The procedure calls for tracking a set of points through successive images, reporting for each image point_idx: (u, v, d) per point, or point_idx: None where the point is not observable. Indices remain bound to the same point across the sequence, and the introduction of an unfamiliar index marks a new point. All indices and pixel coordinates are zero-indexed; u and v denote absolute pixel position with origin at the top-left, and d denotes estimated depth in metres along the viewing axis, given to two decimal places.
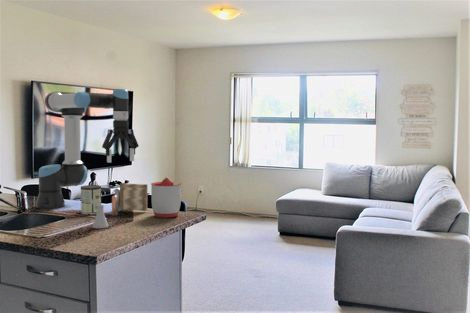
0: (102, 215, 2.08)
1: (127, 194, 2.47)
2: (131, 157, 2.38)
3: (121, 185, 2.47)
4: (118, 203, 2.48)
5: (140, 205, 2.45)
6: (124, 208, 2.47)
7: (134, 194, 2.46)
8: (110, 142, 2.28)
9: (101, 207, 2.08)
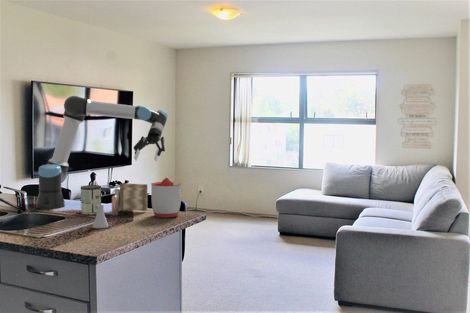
0: (102, 215, 2.08)
1: (127, 194, 2.47)
2: (136, 156, 2.62)
3: (121, 185, 2.47)
4: (118, 203, 2.48)
5: (140, 205, 2.45)
6: (124, 208, 2.47)
7: (134, 194, 2.46)
8: (159, 146, 2.65)
9: (101, 207, 2.08)
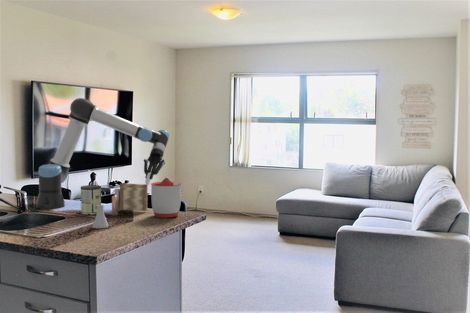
0: (102, 215, 2.08)
1: (127, 194, 2.47)
2: None
3: (121, 185, 2.47)
4: (118, 203, 2.48)
5: (140, 205, 2.45)
6: (124, 208, 2.47)
7: (134, 194, 2.46)
8: None
9: (101, 207, 2.08)
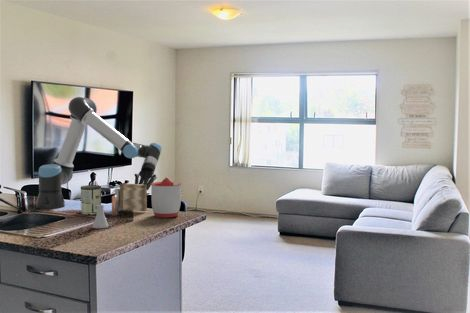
0: (102, 215, 2.08)
1: (127, 194, 2.46)
2: None
3: (121, 185, 2.46)
4: (118, 203, 2.48)
5: (139, 205, 2.45)
6: (124, 208, 2.47)
7: (133, 194, 2.45)
8: (146, 184, 2.54)
9: (101, 207, 2.08)
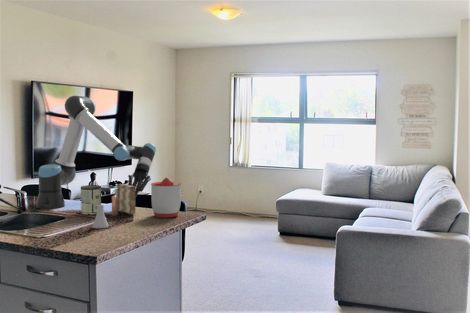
0: (102, 215, 2.08)
1: (121, 195, 2.44)
2: None
3: (118, 185, 2.45)
4: None
5: (128, 207, 2.38)
6: (120, 209, 2.45)
7: (125, 195, 2.40)
8: (139, 186, 2.49)
9: (101, 207, 2.08)
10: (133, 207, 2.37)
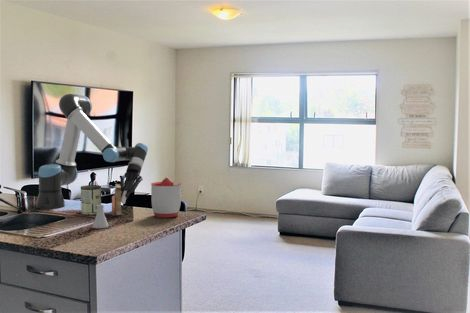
0: (102, 215, 2.08)
1: None
2: None
3: (115, 185, 2.45)
4: None
5: None
6: None
7: None
8: (131, 186, 2.46)
9: (101, 207, 2.08)
10: (118, 208, 2.33)
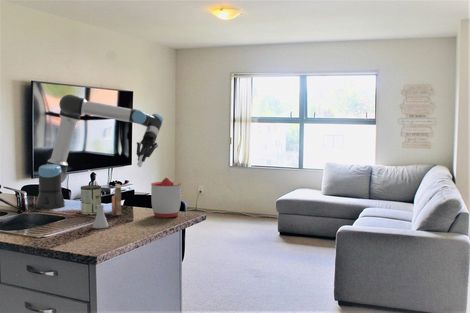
0: (102, 215, 2.08)
1: None
2: None
3: (115, 185, 2.45)
4: None
5: None
6: None
7: None
8: None
9: (101, 207, 2.08)
10: (118, 208, 2.33)
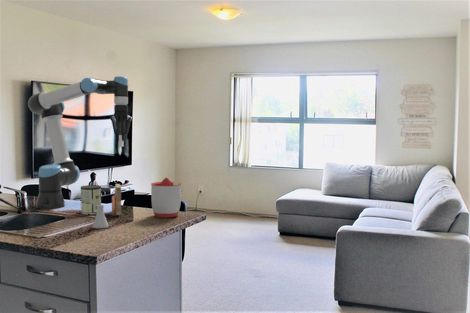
0: (102, 215, 2.08)
1: None
2: None
3: (115, 185, 2.45)
4: None
5: None
6: None
7: None
8: (124, 128, 2.57)
9: (101, 207, 2.08)
10: (118, 208, 2.33)
